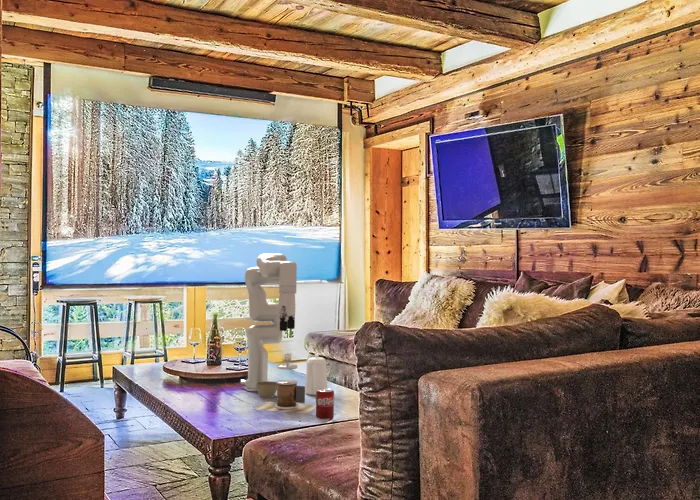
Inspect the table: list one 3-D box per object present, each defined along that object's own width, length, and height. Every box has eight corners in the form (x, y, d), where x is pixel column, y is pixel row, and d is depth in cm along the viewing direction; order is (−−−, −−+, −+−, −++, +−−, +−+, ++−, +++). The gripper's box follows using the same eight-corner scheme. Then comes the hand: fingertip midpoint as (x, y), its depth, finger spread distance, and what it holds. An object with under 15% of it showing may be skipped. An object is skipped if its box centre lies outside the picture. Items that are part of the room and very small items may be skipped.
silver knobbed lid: (274, 368, 281) (274, 354, 281) (281, 365, 289) (281, 351, 289) (293, 369, 279) (293, 355, 279) (300, 366, 287) (300, 352, 287)
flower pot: (281, 397, 308) (281, 382, 308) (272, 401, 299) (272, 386, 299) (262, 395, 312) (262, 380, 312) (252, 400, 302) (252, 384, 302)
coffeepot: (297, 398, 307) (298, 357, 307) (311, 387, 332) (312, 350, 332) (320, 399, 305) (321, 359, 305) (332, 389, 329) (333, 351, 329)
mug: (271, 409, 280) (271, 383, 280) (279, 403, 290) (280, 379, 290) (300, 411, 277) (301, 385, 277) (307, 406, 287) (308, 380, 287)
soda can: (315, 417, 272) (316, 388, 273) (333, 417, 273) (333, 388, 273) (316, 421, 265) (316, 391, 265) (334, 421, 266) (334, 391, 266)
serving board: (253, 412, 279) (253, 409, 279) (267, 403, 294) (267, 401, 294) (307, 416, 273) (307, 413, 273) (318, 408, 289) (318, 405, 289)
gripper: (286, 289, 296) (285, 327, 295) (272, 290, 279) (271, 331, 278) (302, 289, 294) (301, 328, 293) (289, 290, 277) (288, 331, 277)
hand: (287, 329), depth 286 cm, fingers open, 9 cm apart
